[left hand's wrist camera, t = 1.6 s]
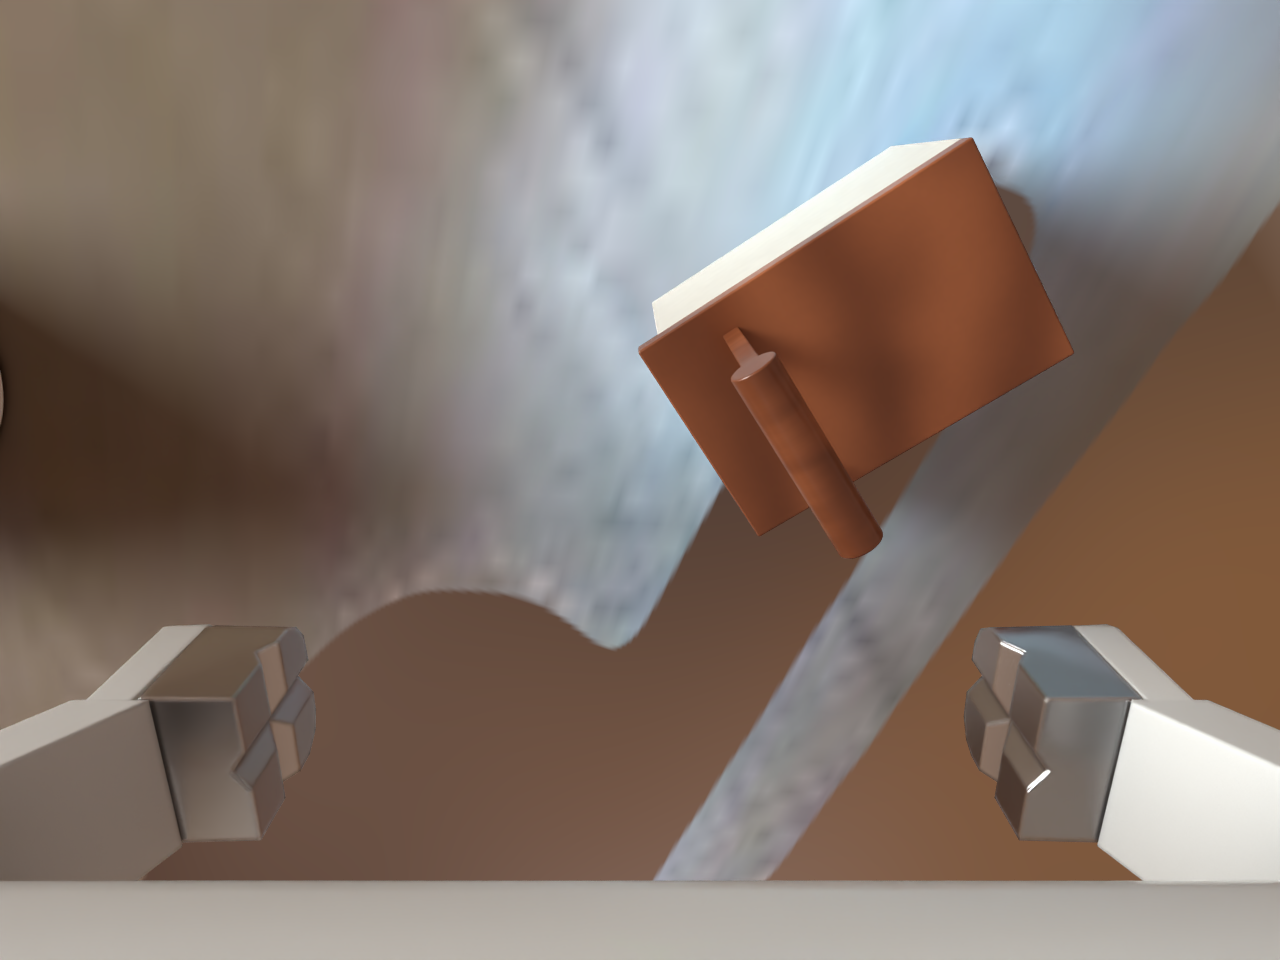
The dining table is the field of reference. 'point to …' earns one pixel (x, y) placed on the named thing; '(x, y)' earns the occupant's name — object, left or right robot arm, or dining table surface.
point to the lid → (860, 346)
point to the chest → (792, 229)
